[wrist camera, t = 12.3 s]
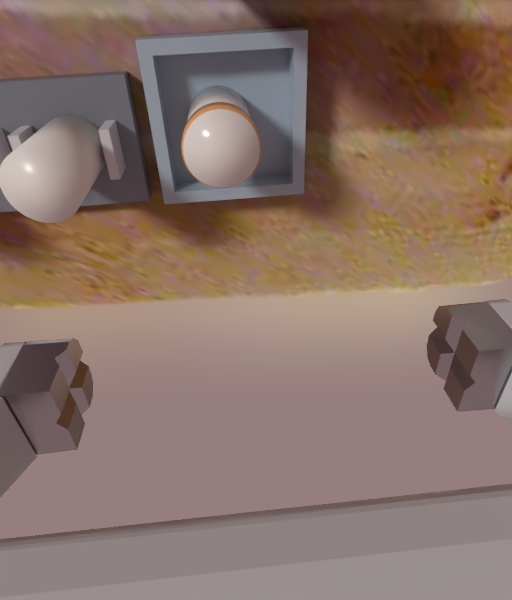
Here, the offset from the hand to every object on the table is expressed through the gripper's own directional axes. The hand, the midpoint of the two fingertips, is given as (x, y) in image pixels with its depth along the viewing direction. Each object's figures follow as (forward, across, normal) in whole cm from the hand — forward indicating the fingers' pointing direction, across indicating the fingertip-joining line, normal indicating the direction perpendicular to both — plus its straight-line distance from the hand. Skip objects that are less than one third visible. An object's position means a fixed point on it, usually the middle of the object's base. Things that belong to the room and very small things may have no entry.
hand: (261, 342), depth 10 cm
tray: (+23, 0, 0) cm, 23 cm away
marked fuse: (+22, +1, 0) cm, 22 cm away
